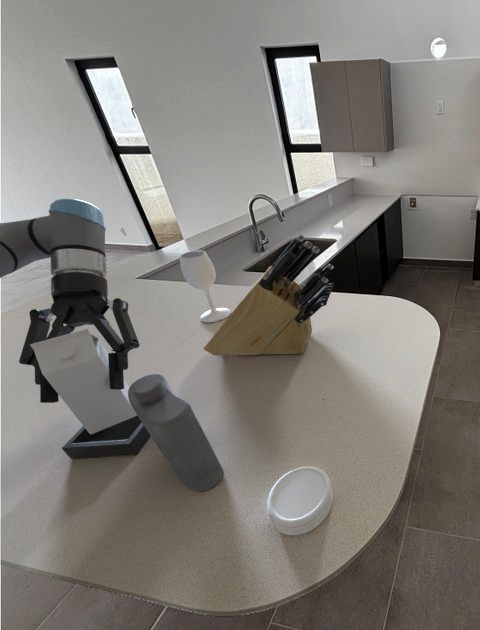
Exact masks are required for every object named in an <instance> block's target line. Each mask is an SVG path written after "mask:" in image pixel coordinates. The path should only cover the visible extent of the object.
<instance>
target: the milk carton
mask: <svg viewBox="0 0 480 630" xmlns="http://www.w3.org/2000/svg"><path fill="white" fill-rule="evenodd" d="M30 346H31V347H32V348H33V350H34V352H35V355H36V358H37V361H38V363H39V366H40V369H41V372H42V374H43V375H44V377H45V378H46V379H47V380H48V382H49V383H50V384H51V386H52V387H53V388H54V389H55V391H56V392H57V393H58V397H60V398H61V399H62V401H63V402H64V403H65V405H66V406H67V407H68V408H69V410H70V411H71V412H72V413H73V415H74V416H75V418H76V419H77V420H78V421H79V422H80V423H81V425H82V427H83V426H84V427H85V428H86V430H87V431H88V432H89V433H90V434H93V433H96V432H98V431H101V430H103V429H106V428H108V427H111V426H113V425H115V424H118V423H120V422H123V421H125V420H128V419H130V418H133V417H135V416H137V414H136V412H135V411H134V409H133V408H132V406H131V404H130V402H129V398H128V390H129V388H130V386H129V385H128V383H127V382H126V380H125V379H124V389H120V390H117V389H110V380H109V360H108V351H107V350H106V348H105V347H104V345H103V343H102V342H101V340H100V338H98V337H97V336H95V335H93V334H91V332H90V331H89V329H88V328H84V329H82V330H78V331H73V332H71V333H70V334H66V335H63V336H59V337H55V338H52V339H48V340H44V341H41V342H37V343H33V344H30Z"/></svg>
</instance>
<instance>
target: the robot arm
mask: <svg viewBox="0 0 480 630" xmlns="http://www.w3.org/2000/svg"><path fill="white" fill-rule="evenodd" d="M47 211H48V215H44V216H39V217H34V218H28V219H22V220H15V221H7V222H0V279H1V278H3V277H5V276H8V275H10V274H12V273H14V272H16V271H18V270H20V269H22V268H25V267H27V266H29V265H30V264H32V263H34V262H37V261H41V260H45V259H50V275H51V276H52V277H51V278H50V295H51V297H52V304H51V305H50V307H49V308H45V309H40V310H39V309H36V308H33V309H31V310H29V319H30V322H29V323H30V324H29V326H28V330H27V333H26V336H25V340H24V343H23V347H22V350H21V353H20V357H19V359H18V363H19V364H21V365H25V366H32V367H34V383H35V385H36V386H37V385H39V392H40V393H39V394H40V395H39V399H40V400H39V401H40V402H39V403H40V404H54V403H59V401H60V400H59V394H58V393H57V392H56V391H55V389H54V388H53V387H52V386H51V384H50V383H49V382H48V380H47V379H46V378H45V377H44V375H43V374H42V372H41V369H40V366H39V363H38V361H37V358H36V355H35V352H34V350H33V348H32V347H31V346H30V344H33V343H37V342H41V341H44V340H48V339H52V338H55V337H59V336H63V335H66V334H70V333H73V332H75V330H76V328H79V327H83V326H85V325H88V326H92V325H93V326H94V327H95V328H96V330H97V331H98V332H99V333H100V335H101V336H102V337H103V339H104V340H105V341H106V343H107V344H108V345H109V347H110V348H111V351H112V352H109V353H108V352H107V353H108V360H109V380H110V389H117V390H120V389H124V380H125V378H124V371H126V370H128V369H129V357H128V355H129V353H130V351H131V350H134V349H138V348H139V347H140V342H139V338H138V337H137V334H136V332H135V329H134V325H133V323H132V320H131V317H130V314H129V303H128V302H127V301H125V300H123V299H121V298H118V297H117V298H114V299H110V300H109V299H108V296H109V289H108V287H109V286H108V280H107V279H106V278H108V274H107V273H108V272H107V269H108V268H107V254H106V227H105V221H104V214H103V211H101V209H100V208H98V206H95V205H94V204H93V203H90V202H88V201H85V200H80V199H77V198H59V199H55V200H54V201H53V202H52V203H50V205H49V210H47ZM109 309H110V310H111V311H112V314H113V316H114V319H115V322H116V324H117V325H116V326H117V327H118V330H119V332H120V335H119V334H118V333H117V332H116V331H115V329H114V328H113V327H112V326H111V323H110V321H109V320H108V318H106V316H105V314H106V313H107V311H108V310H109ZM53 316H55V319H54V320H53ZM52 321H53V323H52V324H51V322H52ZM50 326H51V330H50ZM49 331H50V332H49ZM120 336H121V337H120Z"/></svg>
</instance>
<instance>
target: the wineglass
mask: <svg viewBox="0 0 480 630" xmlns="http://www.w3.org/2000/svg"><path fill="white" fill-rule="evenodd" d="M178 259H179V265H180V269H181V273H182V275H183V277H184V280H185V281H186V283H187V284H189V285H190V286H191V287H193V288H195V289H199V290H202V291H203V292H204V294H205V296H206V299H207V301H208V305H209V310H207V311H205V312H204V313H203V314H201V315H200V318H199V320H200V321H201V322H203V323H215V322H220V321H223V320H225V319H227V318H228V317H229V316H230V314H231V310H230V309H229V308H226V307H216V306H215V304H214V301H213V299H212V297H211V294H210V288H211V287H212V286H213V285H214V284H215V281H216V280H217V279H216V278H217V273H216V269H215V267H214V263H213V262H212V260H211V258H210V256H209V255H208V253H207V252H206V251H205V250H201V249H199V250H198V249H197V250H190V251H189V250H188V251H186V252H183V253H181V254H180V255H179V258H178Z"/></svg>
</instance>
